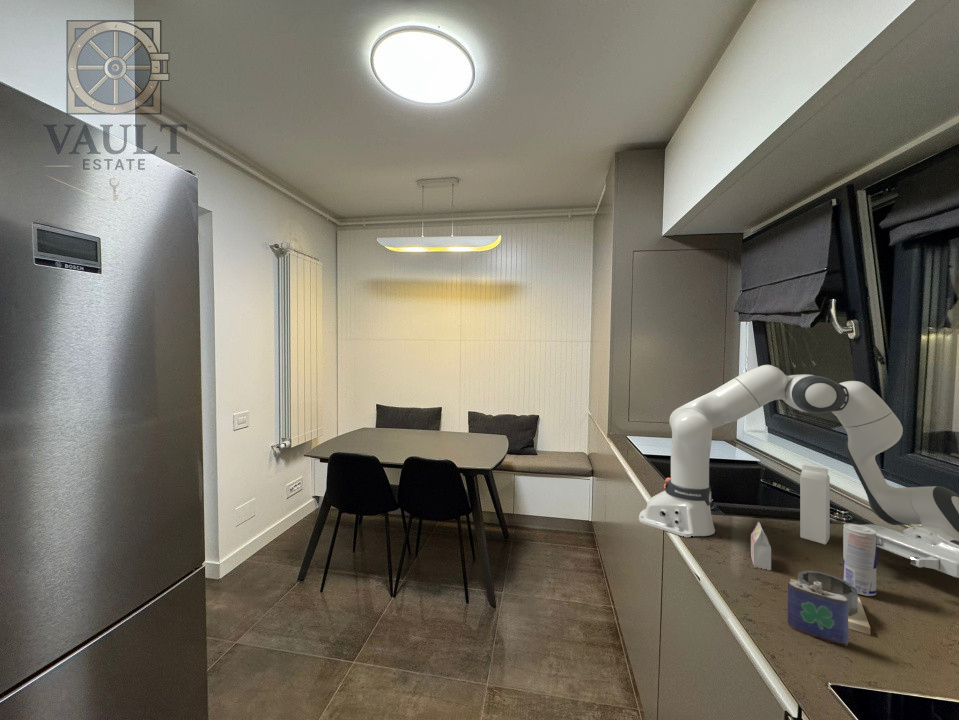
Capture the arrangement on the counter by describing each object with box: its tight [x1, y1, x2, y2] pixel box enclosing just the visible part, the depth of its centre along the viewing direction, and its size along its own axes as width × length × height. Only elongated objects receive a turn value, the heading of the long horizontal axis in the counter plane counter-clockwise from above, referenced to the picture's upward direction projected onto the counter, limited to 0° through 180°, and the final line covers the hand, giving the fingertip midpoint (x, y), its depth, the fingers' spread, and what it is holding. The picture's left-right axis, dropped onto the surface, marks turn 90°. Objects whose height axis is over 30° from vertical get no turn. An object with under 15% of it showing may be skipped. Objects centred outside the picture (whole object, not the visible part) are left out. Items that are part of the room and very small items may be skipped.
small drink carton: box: [750, 521, 772, 571], centre depth 103 cm, size 4×7×10 cm, turn 150°
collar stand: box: [790, 570, 871, 636], centre depth 84 cm, size 12×12×6 cm
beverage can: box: [842, 523, 878, 597], centre depth 90 cm, size 6×6×15 cm
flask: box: [787, 580, 850, 647], centre depth 76 cm, size 9×3×11 cm, turn 51°
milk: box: [799, 464, 831, 545], centre depth 116 cm, size 6×6×22 cm
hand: (888, 552), depth 93 cm, fingers open, 8 cm apart
